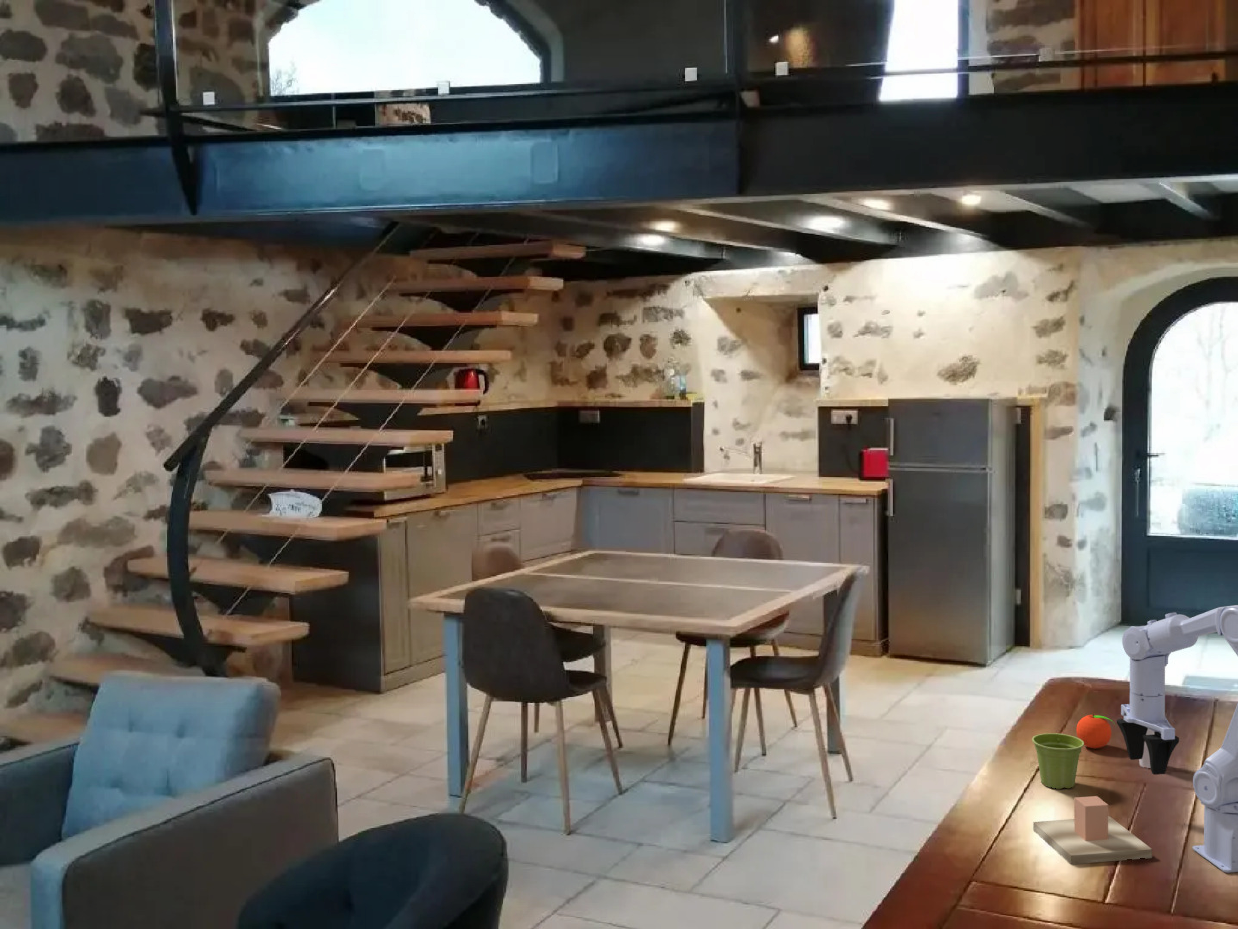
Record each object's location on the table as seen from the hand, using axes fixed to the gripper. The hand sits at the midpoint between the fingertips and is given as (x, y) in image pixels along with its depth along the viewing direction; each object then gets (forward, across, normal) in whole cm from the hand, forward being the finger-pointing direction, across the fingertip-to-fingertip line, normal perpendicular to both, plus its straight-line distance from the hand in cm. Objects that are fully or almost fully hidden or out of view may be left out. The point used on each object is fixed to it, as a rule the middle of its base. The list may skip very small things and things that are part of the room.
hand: (1146, 766), depth 210 cm
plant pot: (+10, -18, -8) cm, 22 cm away
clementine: (+10, -36, +9) cm, 38 cm away
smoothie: (+10, -24, +14) cm, 29 cm away
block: (+8, +9, -15) cm, 19 cm away
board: (+9, +9, -15) cm, 20 cm away
